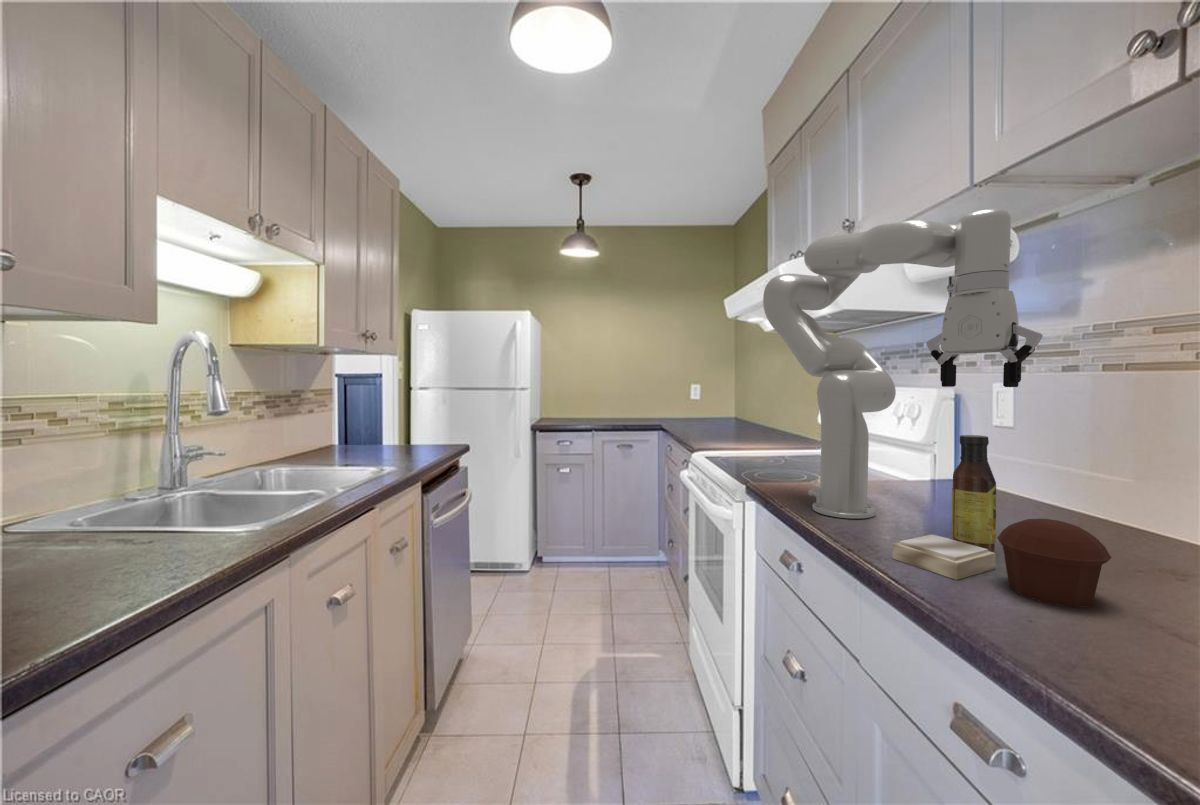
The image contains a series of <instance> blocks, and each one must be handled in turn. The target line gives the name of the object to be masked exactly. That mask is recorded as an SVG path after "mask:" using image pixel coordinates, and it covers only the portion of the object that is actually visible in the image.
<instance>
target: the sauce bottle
mask: <svg viewBox="0 0 1200 805" xmlns="http://www.w3.org/2000/svg"><path fill="white" fill-rule="evenodd" d="M959 444H960V457H959V458H960V462H959V464H958V465H957V466H956V468H955V469H954V471H953V472H952V488H951V538H952V540H955V541H959V542H963V543H966V544H970V545H974V546H978V547H981V548H985V549H988V551H989V552H993V553H994V551H995V547H996V545H995V544H996V542H997V481H996V478H995V476H994V473H993V471H992V468H991V466H990V464H989V461H988V460H989V459H988V446H989V436H988V435H981V434H980V435H977V434H963V435H962V434H961V435H959Z"/></svg>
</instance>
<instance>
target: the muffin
mask: <svg viewBox="0 0 1200 805" xmlns="http://www.w3.org/2000/svg"><path fill="white" fill-rule="evenodd" d="M996 539H997V540H998V542H999V543H1000V545H1001V546H1002V550H1003V554H1004V555H1003V556H1004V562H1005V569H1006V575H1007V581H1008V582H1007V583H1008V587H1009V588H1010V589H1011V588H1012V589H1011V590H1013V589H1014V590H1013V591H1015V590H1016V591H1015V592H1017V593H1018V592H1019V593H1020V594H1019V593H1018V594H1019V595H1021V596H1022V595H1023V596H1022V597H1025V596H1027V597H1026V598H1029V597H1030V598H1029V599H1032V598H1034V599H1033V600H1035V599H1036V601H1038V600H1040V601H1039V602H1041V601H1042V602H1041V603H1044V602H1046V603H1045V604H1047V603H1051V604H1050V605H1054V604H1058V605H1057V606H1061V605H1063V607H1067V606H1068V608H1072V607H1073V608H1074V607H1076V608H1082V607H1081V606H1088V607H1093V603H1094V600H1095V596H1096V592H1097V587H1098V583H1099V579H1100V574H1101V570H1102V567H1103V565H1104V564H1106V563H1108V562H1109V561H1110V560H1112V556H1111V555H1110V553H1109V551H1108V549H1107V548H1106V546H1105V545H1104V544H1103V543H1102V542H1101V541H1100V540H1099V539H1098V538H1097V537H1096V536H1095V535H1093V534H1092V533H1090V532H1089V531H1087V530H1085V529H1084V528H1081V527H1080V526H1079V525H1075V524H1071V523H1069V522H1066V521H1062V520H1056V519H1051V518H1050V519H1048V518H1027V519H1023V520H1021V521H1018V522H1015V523H1012V524H1010V525H1007V526H1006V527H1005V528H1004V529H1002V531H1001V532H1000V534H999V535H998V536H996ZM1074 609H1075V608H1074Z"/></svg>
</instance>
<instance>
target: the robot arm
mask: <svg viewBox="0 0 1200 805" xmlns="http://www.w3.org/2000/svg"><path fill="white" fill-rule="evenodd" d="M1011 219H1012V218H1011V215H1010V213H1009V212H1008V211H1007V210H1004V209H1000V208H988V209H983V210H982V209H979V210H976V211H972V212H969V213H967V214H964V215H963V216H961V217H960V218H959V219H958V220H957V222H956V224H950V223H941V222H938V221H937V222H936V221H931V220H924V219H911V220H903V221H902V220H901V221H898V222H897V221H896V222H890V223H884V224H879V225H876V226H873V227H872V228H870V229H868V230H866V231H860V232H854V233H846V234H839V235H833V236H826V237H821V238H819V239H816V240H814V241H812V242H811V243H810V244H809V245H808V246H807V247H806V249H805V251H804V257H803V259H804V260H803V261H804V264H805V266H806V268H807V269H808V270H809V271H810V272H812V273H814V274H816V275H807V274H799V273H783V274H778V275H776V276H774V277H772V278H771V279H769V281H768V282H767V283H766V285H765V288H764V291H763V298H762V302H763V304H762V305H763V310H764V314H765V316H766V319H767V321H768V323H769V324H770V325H771V327H772V328H773V329H774V330H775V331H776V333H777V334H778V336H780V337H781V338H782V340H783V341H784V342H785V344H786V346H787V347H788V349H789V350H790V351H791V353H792V354H793V355H794V357H795V359H796V360H797V362H798V363H799V365H800V366H801V367H802V369H803V370H804V371H805V372H806V373H807V374H808V375H810V376H812V377H815V378H821V380H820V381H819V383H818V385H817V389H816V397H817V398H816V399H817V403H818V409H819V414H820V474H819V476H820V478H819V479H820V480H819V482H820V483H819V486H820V487H819V486H812V487H811V489H809V490H808V493H807V494H808V496H811V497H815V498H816V499H815V501H814V502H813V503H812V510H813V511H814V512H816V513H818V514H821V515H824V516H829V517H834V518H841V519H852V520H853V519H854V520H855V519H856V520H857V519H858V520H861V519H870V518H873V517H874V516H875V515H876V510H875V508H874V507H872V506H870V505H868V488H869V487H868V485H869V483H868V482H869V481H868V480H869V442H870V440H869V429H868V424H867V422H866V420H865V417H864V414H863V413H877V412H882V411H884V410H886V409H888V408H890V406H891V405H892V404H893V403H894V401H895V398H896V384H895V382H894V381H893V379H892V376H891V375H890V374H889V373H888V372H887V371H886V369H885V368H884V367H883V365H882V364H881V363H880V362H879V361H878V360H877V358H876V357H875V356H874V355H873V354H872V353H871V352H870V350H869V349H868V348H867V346H865V345H864V344H863V343H862V342H860V341H858V340H856V339H854V338H850V337H841V336H840V337H838V336H837V337H836V336H831V335H829V334H828V333H827V332H825V330H823V328H822V327H821V326H820V324H819V323H818V321H817V320H816V319H815V318H813V317H812V315H810V314H809V313H807V312H805V311H820V310H824V309H826V308H829V306H830V305H832V304H833V303H834V302H835V301H836V300H837V299H838V298H839V297H840V296H841V295H842V294H843V293H844V292H846V290H847V289H848V288H849V287H850V286H851V285H852V284H853V283H854V282H855V281H856V280H857V279H858V278H859V277H860V275H861V274H868V273H869V274H870V273H873V272H875V271H876V270H878V268H879V267H880V266H881V265H892V264H893V265H894V264H895V265H896V264H898V265H899V264H906V265H907V264H908V265H909V264H910V265H920V266H927V267H932V268H939V269H940V268H951V267H954V279H953V281H952V282H953V283H952V284H948V285H947V287H946V291H947V292H948V293H952V294H953V296H949V297H948V298H947V302H946V306H945V310H944V315H943V320H942V328H941V333H939V334H937V335H936V336H934V337H932V338H931V339H929V340H926V343H925V344H926V346H927V348H928V350H929V352H930V355H931V357H933V359H934V360H936V361H937V362H936V363H937V364H938V365H940V377H939V379H940V382H941V387H943V388H948V387H951V388H953V387H955V386H956V385H957V365H956V364H954V362H955V361H956V360H957V359H958V358H959V357H960V355H962V354H985V353H987V354H988V353H1000V354H1001V355H1002V356H1003V357H1004V358H1005V359H1006V360H1007V362H1004V364H1003V373H1002V376H1003V381H1002V384H1003V385H1002V386H1003V387H1004V388H1018V387H1019V384H1020V382H1021V380H1022V363H1024V362H1025V361H1026V359H1027V358H1029V357H1030V355H1032V354H1033V353H1034V352H1035V351H1036V347H1038V345H1039V343H1040V342H1041V340H1042V338H1043V337H1044V336H1043V333H1041V332H1038V331H1035V330H1032V329H1029V328H1027V327H1023V326H1021V325H1019V315H1018V308H1017V302H1016V298H1015V293H1014V291H1013V290H1010V264H1011V263H1010V262H1011V259H1010V258H1011V257H1010V256H1011V230H1012V229H1011V228H1012V220H1011ZM1019 337H1023V338H1025V342H1024V344H1023V345H1021V347H1020V348H1018V344H1019V341H1020V339H1019Z"/></svg>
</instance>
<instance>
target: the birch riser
mask: <svg viewBox="0 0 1200 805" xmlns="http://www.w3.org/2000/svg"><path fill="white" fill-rule="evenodd" d="M996 555H997V554H996V553H995V552H994V551H993V552H989V551H988V549H985V548H981V547H978V546H974V545H970V544H966V543H963V542H959V541H955V540H953V538H952V539H951V538H947V537H945V536H940V535H937V534H932V533H931V534H928V535H922V536H918V537H913V538H910V539H904V540H900V541H899V542H895V543H892V559H894V560H896V561H898V562H902V563H905V564H908V565H911V566H914V567H916V568H920V569H923V570H926V571H929V572H932V573H935V574H938V575H941V576H944V577H947V578H951V579H953V580H955V581H958V580H961V579H964V578H965V579H966V578H968V577H972V576H974V575H976V576H977V575H978V574H982V573H986V572H989V571H993V570H995V569H996Z"/></svg>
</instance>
